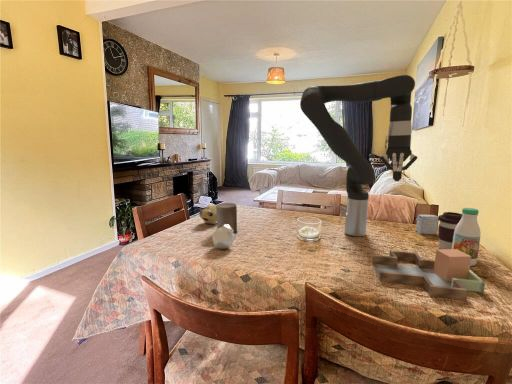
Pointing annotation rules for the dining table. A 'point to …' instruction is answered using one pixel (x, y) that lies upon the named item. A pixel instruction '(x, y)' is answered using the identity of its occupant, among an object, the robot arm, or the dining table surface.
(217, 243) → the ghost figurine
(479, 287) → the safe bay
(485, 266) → the dining table surface
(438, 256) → the terracotta block
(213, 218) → the toy pig
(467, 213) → the milk bottle
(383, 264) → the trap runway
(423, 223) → the medicine box
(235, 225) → the pillar candle
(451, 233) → the coffee cup
